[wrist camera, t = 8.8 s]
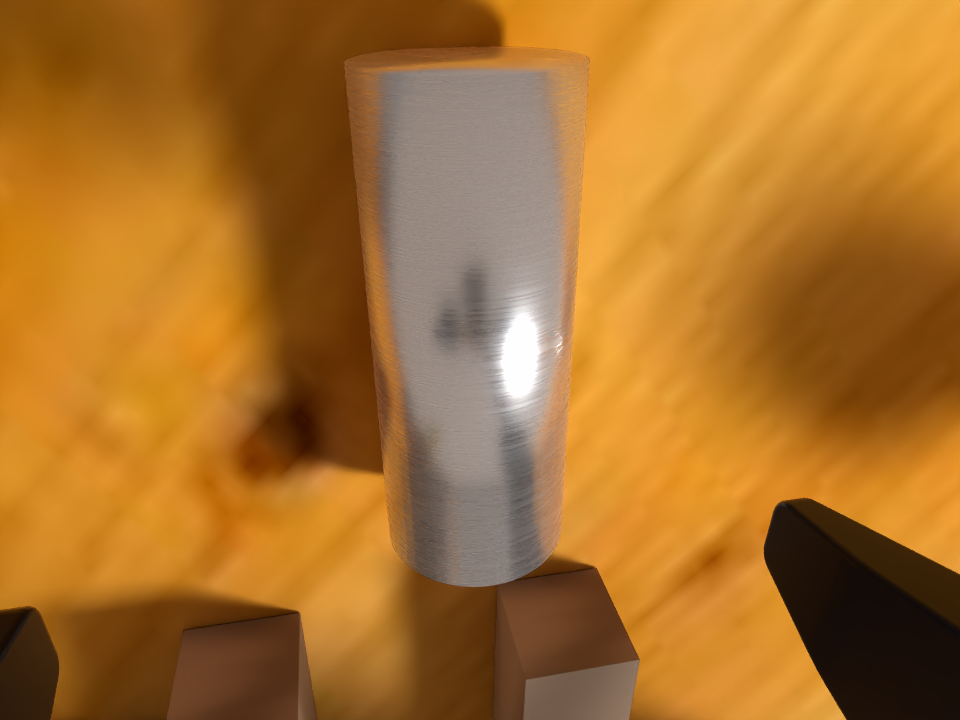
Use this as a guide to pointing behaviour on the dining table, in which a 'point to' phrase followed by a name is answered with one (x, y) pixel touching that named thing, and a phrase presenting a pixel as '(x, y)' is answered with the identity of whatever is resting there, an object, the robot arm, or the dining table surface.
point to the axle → (471, 294)
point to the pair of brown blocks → (517, 673)
